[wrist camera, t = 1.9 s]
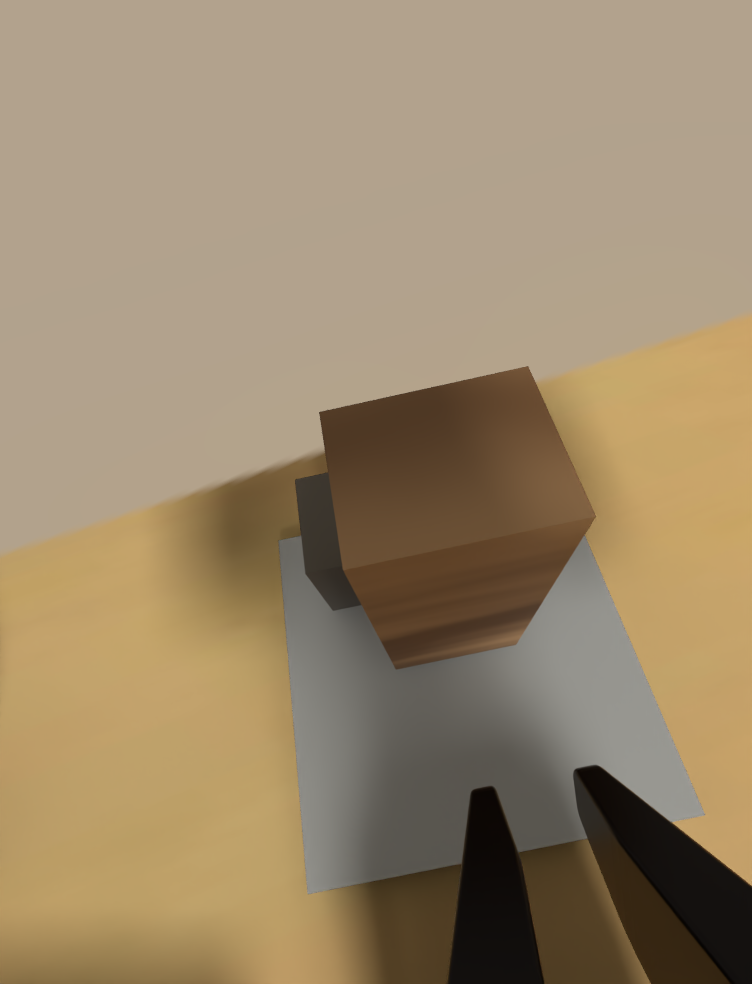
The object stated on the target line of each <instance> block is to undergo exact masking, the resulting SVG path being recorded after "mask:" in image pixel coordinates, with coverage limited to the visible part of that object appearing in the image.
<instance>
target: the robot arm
mask: <svg viewBox="0 0 752 984" xmlns="http://www.w3.org/2000/svg"><path fill="white" fill-rule="evenodd" d="M573 780H574V788H575V795H576V803H577V809H578V813H579V817H580V820H581V823H582V825H583V828H584V830H585V833H586V835H587V838H588V840H589V843H590V845H591V848H592V850H593V853H594V855H595V858H596V860H597V863H598V865H599V868H600V870H601V873H602V875H603V878H604V880H605V883H606V885H607V888H608V890H609V893H610V895H611V898H612V900H613V903H614V905H615V907H616V910H617V912H618V915H619V917H620V920H621V922H622V924H623V927H624V929H625V931H626V934H627V936H628V938H629V940H630V942H631V944H632V946H633V949H634V951H635V953H636V955H637V957H638V959H639V961H640V963H641V965H642V967H643V969H644V971H645V973H646V975H647V977H648V979H649V980H650V982H651V984H752V886H751V885H750V884H749V883H747V882H746V881H745V880H744V879H742V878H741V877H740V876H738V875H737V874H736V873H735V872H733V871H732V870H731V869H730V868H728V867H727V866H726V865H725V864H723V863H722V862H721V861H720V860H718V859H717V858H716V857H714V856H713V855H712V854H711V853H709V852H708V851H707V850H706V849H704V848H703V847H702V846H701V845H699V844H698V843H697V842H696V841H694V840H693V839H692V838H691V837H689V836H688V835H687V834H685V833H684V832H683V831H682V830H680V829H679V828H678V827H677V826H675V825H674V824H673V823H672V822H670V821H669V820H668V819H667V818H665V817H664V816H663V815H661V814H660V813H659V812H658V811H656V810H655V809H654V808H653V807H651V806H650V805H649V804H648V803H646V802H645V801H644V800H643V799H641V798H640V797H639V796H637V795H636V794H635V793H634V792H632V791H631V790H630V789H629V788H627V787H626V786H625V785H624V784H622V783H621V782H620V781H619V780H617V779H616V778H615V777H613V776H612V775H611V774H610V773H608V772H607V771H606V770H605V769H603V768H602V767H601V766H598V765H590V766H585V767H580V768H576V769H575V770H574V772H573ZM446 984H545V982H544V976H543V971H542V966H541V960H540V955H539V950H538V944H537V939H536V934H535V929H534V923H533V918H532V913H531V907H530V902H529V897H528V891H527V886H526V881H525V875H524V871H523V867H522V862H521V859H520V856H519V852H518V849H517V846H516V843H515V840H514V838H513V835H512V832H511V829H510V826H509V823H508V820H507V818H506V815H505V812H504V809H503V806H502V803H501V801H500V798H499V795H498V792H497V790H496V788H495V787H494V786H486V787H481V788H476V789H473V790H472V791H471V793H470V799H469V807H468V815H467V823H466V831H465V839H464V847H463V855H462V862H461V870H460V878H459V886H458V894H457V902H456V910H455V918H454V926H453V934H452V942H451V950H450V958H449V966H448V974H447V982H446Z"/></svg>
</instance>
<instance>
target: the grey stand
mask: <svg viewBox="0 0 752 984" xmlns="http://www.w3.org/2000/svg"><path fill="white" fill-rule="evenodd" d="M295 484H296V493H297V502H298V512H299V521H300V530H301V536H297V537H293V538H288V539H283V540H279V553H280V565H281V578H282V590H283V602H284V614H285V626H286V638H287V650H288V662H289V675H290V687H291V699H292V711H293V723H294V735H295V747H296V759H297V772H298V784H299V796H300V808H301V820H302V832H303V844H304V856H305V869H306V881H307V893H308V894H312V893H317V892H322V891H327V890H332V889H337V888H342V887H347V886H352V885H357V884H362V883H367V882H372V881H377V880H382V879H387V878H392V877H397V876H402V875H407V874H412V873H417V872H422V871H427V870H432V869H437V868H442V867H447V866H452V865H457V864H461V862H462V855H463V847H464V839H465V831H466V823H467V815H468V807H469V799H470V793H471V791H472V790H473V789H476V788H481V787H486V786H494V787H495V788H496V790H497V792H498V795H499V798H500V801H501V803H502V806H503V809H504V812H505V815H506V818H507V820H508V823H509V826H510V829H511V832H512V835H513V838H514V840H515V843H516V846H517V849H518V852H523V851H528V850H533V849H538V848H543V847H548V846H553V845H558V844H563V843H568V842H573V841H578V840H583V839H588V838H587V835H586V833H585V830H584V828H583V825H582V823H581V820H580V817H579V813H578V809H577V803H576V795H575V788H574V780H573V772H574V770H575V769H576V768H580V767H585V766H590V765H598V766H601V767H602V768H603V769H605V770H606V771H607V772H608V773H610V774H611V775H612V776H613V777H615V778H616V779H617V780H619V781H620V782H621V783H622V784H624V785H625V786H626V787H627V788H629V789H630V790H631V791H632V792H634V793H635V794H636V795H637V796H639V797H640V798H641V799H643V800H644V801H645V802H646V803H648V804H649V805H650V806H651V807H653V808H654V809H655V810H656V811H658V812H659V813H660V814H661V815H663V816H664V817H665V818H667V819H668V820H669V821H670V822H674V821H679V820H684V819H689V818H694V817H699V816H704V815H705V814H704V811H703V809H702V807H701V804H700V802H699V800H698V797H697V795H696V793H695V790H694V788H693V786H692V783H691V781H690V779H689V776H688V774H687V772H686V769H685V767H684V765H683V762H682V760H681V758H680V755H679V753H678V751H677V749H676V746H675V744H674V742H673V739H672V737H671V735H670V732H669V730H668V728H667V725H666V723H665V721H664V718H663V716H662V714H661V711H660V709H659V707H658V704H657V702H656V700H655V697H654V695H653V693H652V690H651V688H650V686H649V683H648V681H647V679H646V676H645V674H644V672H643V669H642V667H641V665H640V662H639V660H638V658H637V656H636V653H635V651H634V649H633V646H632V644H631V642H630V639H629V637H628V635H627V632H626V630H625V628H624V625H623V623H622V621H621V618H620V616H619V614H618V611H617V609H616V607H615V604H614V602H613V600H612V597H611V595H610V593H609V590H608V588H607V586H606V583H605V581H604V579H603V576H602V574H601V572H600V569H599V567H598V565H597V563H596V560H595V558H594V556H593V553H592V551H591V549H590V546H589V544H588V542H587V539H586V537H585V535H584V537H583V538H582V540H581V541H580V543H579V545H578V546H577V548H576V549H575V551H574V553H573V554H572V556H571V557H570V559H569V561H568V562H567V564H566V565H565V567H564V569H563V570H562V572H561V573H560V575H559V577H558V578H557V580H556V581H555V583H554V585H553V586H552V588H551V590H550V591H549V593H548V594H547V596H546V598H545V599H544V601H543V602H542V604H541V606H540V607H539V609H538V610H537V612H536V614H535V615H534V617H533V618H532V620H531V622H530V623H529V625H528V626H527V628H526V630H525V631H524V633H523V634H522V636H521V638H520V639H519V641H518V643H517V644H516V645H513V646H508V647H503V648H498V649H493V650H489V651H484V652H479V653H474V654H469V655H465V656H460V657H455V658H450V659H445V660H440V661H436V662H431V663H426V664H421V665H416V666H412V667H407V668H402V669H397V670H396V669H395V667H394V665H393V663H392V661H391V659H390V657H389V656H388V654H387V652H386V650H385V648H384V646H383V644H382V642H381V641H380V639H379V637H378V635H377V633H376V631H375V629H374V627H373V626H372V624H371V622H370V620H369V618H368V616H367V614H366V612H365V611H364V609H363V607H362V605H361V603H360V601H359V599H358V597H357V596H356V594H355V592H354V590H353V588H352V586H351V584H350V582H349V581H348V579H347V577H346V575H345V573H344V571H343V567H342V560H341V553H340V547H339V540H338V533H337V527H336V520H335V513H334V507H333V500H332V493H331V487H330V480H329V474H328V473H324V474H319V475H314V476H310V477H305V478H301V479H296V480H295Z"/></svg>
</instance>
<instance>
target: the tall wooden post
mask: <svg viewBox="0 0 752 984" xmlns="http://www.w3.org/2000/svg"><path fill="white" fill-rule="evenodd" d="M319 414H320V420H321V427H322V434H323V440H324V447H325V454H326V460H327V467H328V474H329V480H330V487H331V493H332V500H333V507H334V513H335V520H336V527H337V533H338V540H339V547H340V553H341V560H342V567H343V571H344V573H345V575H346V577H347V579H348V581H349V582H350V584H351V586H352V588H353V590H354V592H355V594H356V596H357V597H358V599H359V601H360V603H361V605H362V607H363V609H364V611H365V612H366V614H367V616H368V618H369V620H370V622H371V624H372V626H373V627H374V629H375V631H376V633H377V635H378V637H379V639H380V641H381V642H382V644H383V646H384V648H385V650H386V652H387V654H388V656H389V657H390V659H391V661H392V663H393V665H394V667H395V669H396V670H397V669H402V668H407V667H412V666H416V665H421V664H426V663H431V662H436V661H440V660H445V659H450V658H455V657H460V656H465V655H469V654H474V653H479V652H484V651H489V650H493V649H498V648H503V647H508V646H513V645H516V644H517V643H518V641H519V639H520V638H521V636H522V634H523V633H524V631H525V630H526V628H527V626H528V625H529V623H530V622H531V620H532V618H533V617H534V615H535V614H536V612H537V610H538V609H539V607H540V606H541V604H542V602H543V601H544V599H545V598H546V596H547V594H548V593H549V591H550V590H551V588H552V586H553V585H554V583H555V581H556V580H557V578H558V577H559V575H560V573H561V572H562V570H563V569H564V567H565V565H566V564H567V562H568V561H569V559H570V557H571V556H572V554H573V553H574V551H575V549H576V548H577V546H578V545H579V543H580V541H581V540H582V538H583V537H584V535H585V533H586V532H587V530H588V528H589V527H590V525H591V524H592V522H593V520H594V519H595V517H596V515H595V513H594V511H593V509H592V507H591V504H590V502H589V500H588V498H587V496H586V493H585V491H584V489H583V487H582V484H581V482H580V480H579V478H578V476H577V473H576V471H575V469H574V467H573V465H572V462H571V460H570V458H569V456H568V454H567V451H566V449H565V447H564V445H563V442H562V440H561V438H560V436H559V434H558V431H557V429H556V427H555V425H554V423H553V420H552V418H551V416H550V414H549V412H548V409H547V407H546V405H545V403H544V400H543V398H542V396H541V394H540V392H539V389H538V387H537V385H536V383H535V381H534V378H533V376H532V374H531V372H530V370H529V367H528V366H527V367H522V368H518V369H514V370H509V371H504V372H500V373H495V374H491V375H486V376H482V377H477V378H473V379H468V380H463V381H459V382H455V383H450V384H446V385H441V386H436V387H431V388H427V389H422V390H418V391H413V392H409V393H405V394H400V395H395V396H391V397H386V398H382V399H377V400H373V401H368V402H363V403H359V404H354V405H350V406H345V407H341V408H336V409H332V410H327V411H323V412H319Z"/></svg>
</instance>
